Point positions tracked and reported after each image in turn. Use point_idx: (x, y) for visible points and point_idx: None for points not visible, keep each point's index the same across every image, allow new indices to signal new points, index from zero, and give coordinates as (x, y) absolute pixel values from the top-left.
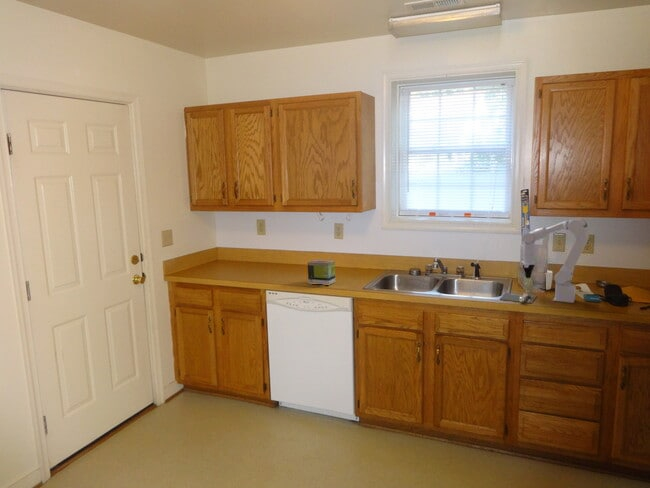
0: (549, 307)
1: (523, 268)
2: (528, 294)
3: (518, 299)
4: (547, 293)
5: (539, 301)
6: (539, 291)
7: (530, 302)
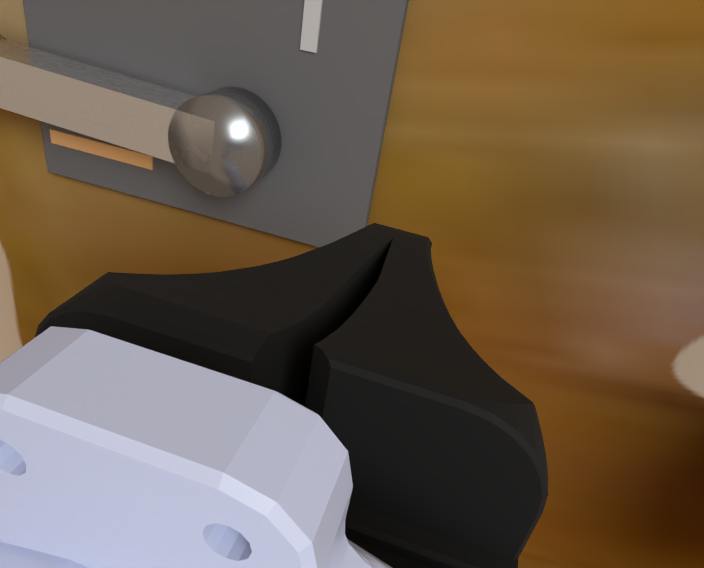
0: (25, 306)
1: (165, 275)
2: (178, 164)
3: (99, 16)
4: (548, 394)
5: (167, 256)
6: (657, 328)
7: (50, 160)
